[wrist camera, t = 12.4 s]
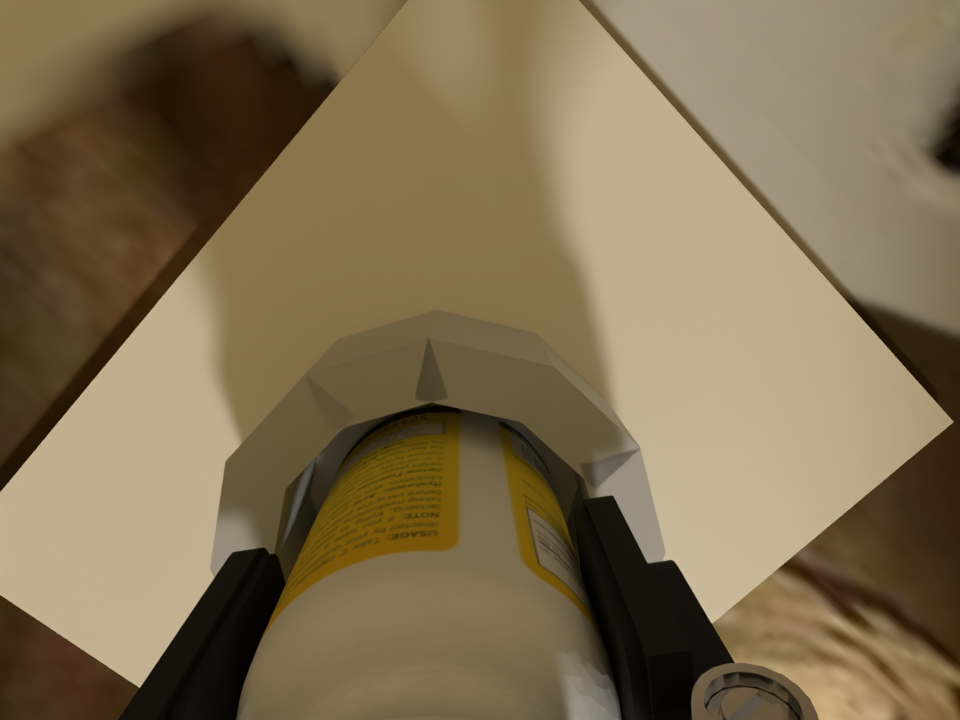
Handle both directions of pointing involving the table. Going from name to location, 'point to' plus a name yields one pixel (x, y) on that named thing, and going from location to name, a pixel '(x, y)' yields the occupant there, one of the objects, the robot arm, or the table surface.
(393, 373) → the socket
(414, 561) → the supplement bottle
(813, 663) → the table surface
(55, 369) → the table surface
